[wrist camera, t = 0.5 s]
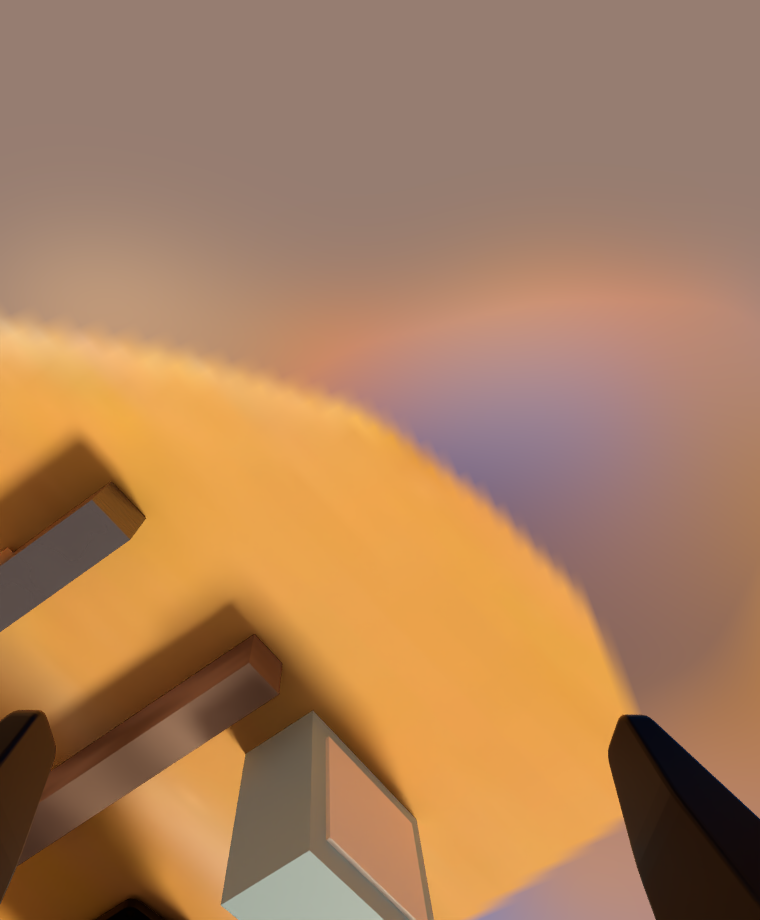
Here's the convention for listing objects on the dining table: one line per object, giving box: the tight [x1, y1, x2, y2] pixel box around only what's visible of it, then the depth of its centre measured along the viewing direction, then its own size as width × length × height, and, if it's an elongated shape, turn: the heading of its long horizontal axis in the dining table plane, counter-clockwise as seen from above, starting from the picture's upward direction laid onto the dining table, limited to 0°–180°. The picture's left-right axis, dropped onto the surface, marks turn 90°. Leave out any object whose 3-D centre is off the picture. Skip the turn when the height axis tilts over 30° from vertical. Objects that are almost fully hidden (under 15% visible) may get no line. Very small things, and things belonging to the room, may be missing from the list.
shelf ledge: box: [17, 634, 282, 866], centre depth 25 cm, size 15×2×2 cm, turn 125°
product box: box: [221, 711, 434, 920], centre depth 25 cm, size 4×9×7 cm, turn 35°
